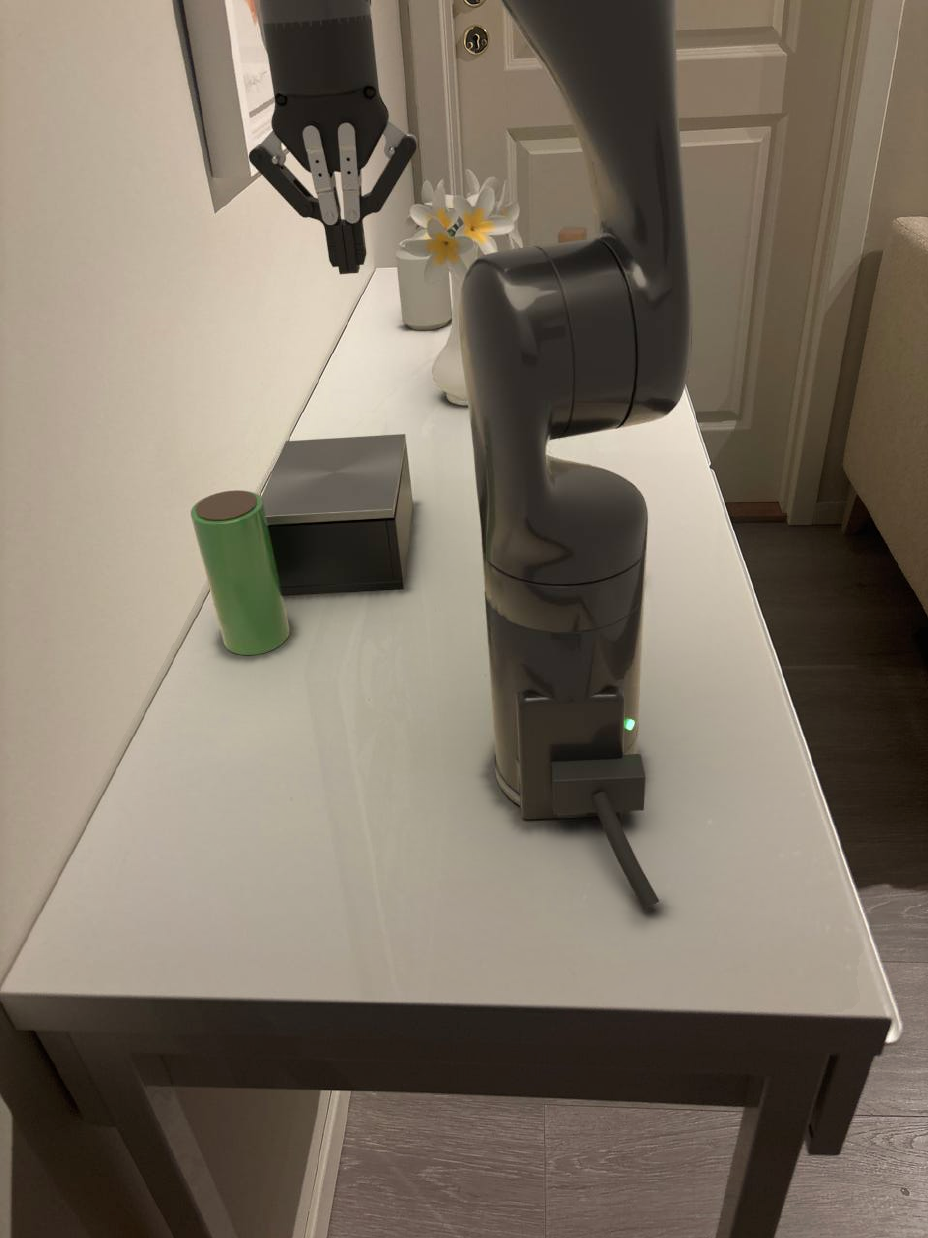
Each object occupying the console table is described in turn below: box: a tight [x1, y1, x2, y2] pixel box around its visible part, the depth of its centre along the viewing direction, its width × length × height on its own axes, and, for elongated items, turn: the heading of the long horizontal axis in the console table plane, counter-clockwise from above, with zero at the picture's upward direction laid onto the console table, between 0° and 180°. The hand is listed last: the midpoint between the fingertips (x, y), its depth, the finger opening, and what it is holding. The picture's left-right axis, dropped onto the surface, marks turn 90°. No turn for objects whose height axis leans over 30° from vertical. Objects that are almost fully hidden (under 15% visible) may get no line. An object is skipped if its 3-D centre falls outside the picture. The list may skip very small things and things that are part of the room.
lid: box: [260, 433, 407, 525], centre depth 85 cm, size 16×12×1 cm
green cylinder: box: [190, 489, 291, 656], centre depth 75 cm, size 5×5×12 cm
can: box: [395, 237, 453, 331], centre depth 141 cm, size 8×8×12 cm
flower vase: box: [405, 168, 524, 407], centre depth 111 cm, size 13×18×25 cm
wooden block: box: [557, 226, 588, 243], centre depth 155 cm, size 4×4×8 cm
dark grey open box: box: [268, 443, 414, 596], centre depth 88 cm, size 16×12×7 cm
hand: (350, 270), depth 76 cm, fingers closed
